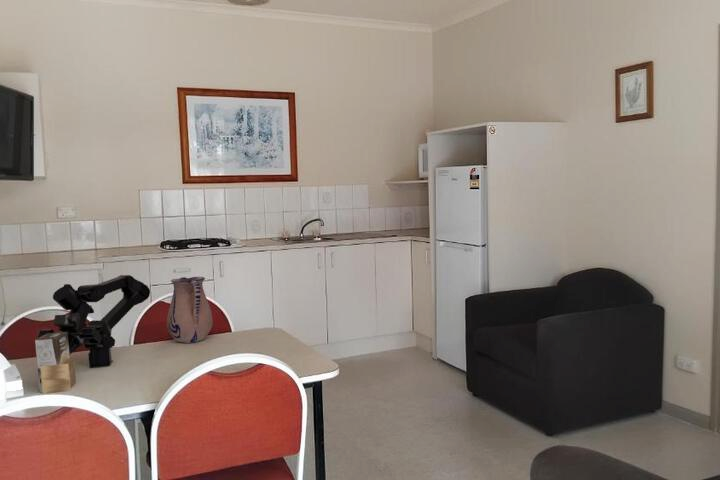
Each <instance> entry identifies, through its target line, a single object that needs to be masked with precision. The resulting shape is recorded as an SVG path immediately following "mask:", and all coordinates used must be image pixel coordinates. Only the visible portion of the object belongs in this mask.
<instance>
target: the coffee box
mask: <svg viewBox="0 0 720 480" xmlns="http://www.w3.org/2000/svg"><path fill="white" fill-rule="evenodd" d="M34 342H35V343H34V344H35V354H36V365H37V366H36V367H37V375H38V387H39V392H40V393H43V391H42V380H41V369H40V367H41V366H50V365H60V364H65V363H66V362H67V361H68V360H69V359H70V358H71V356H70V355H71V354H70V355H69V344H68V333H67V332H62V331H56V332H55V333H47V334H45V335H43V336H41V337H39V338H38V337H37V338H36V339H34Z"/></svg>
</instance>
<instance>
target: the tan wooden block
mask: <svg viewBox="0 0 720 480" xmlns="http://www.w3.org/2000/svg"><path fill="white" fill-rule="evenodd" d="M75 363H76V362H75V357H70V359H69V360H68V361H67V362H66V363H65V364H60V365H50V366H41V367H40V369H41V380H42V391H43V392H42V394H50V393H51V394H52V393H61V392H69V391H70V392H71V390H72V388H73V387H74V386H75V385H76V384H77V376H76V364H75Z"/></svg>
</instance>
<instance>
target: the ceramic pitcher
mask: <svg viewBox="0 0 720 480" xmlns="http://www.w3.org/2000/svg"><path fill="white" fill-rule="evenodd" d="M205 280H206V278H205V277H204V276H192V277H185V276H182V277H179V278H173V279H171V280H170V282H171V283H172V285H173V292H172V293H173V294H172V297H171V300H170V305H169V307H168V313H167V317H166V328H167V330H168V333H169V334H170V336H171V337H172V338H173V339H174V340H175V341H177V342H178V343H180V342H181V343H187V344H188V343H189V344H191V343H197V342H200V341H203V340H204V339H206V337H207V336H208V334H209V333H210V331H211V330H212V327H213V323H214V317H213V314H212V309H211V306H210V304H209V300H208V299H207V295H206V293H205V290H204V286H203V282H204V281H205Z"/></svg>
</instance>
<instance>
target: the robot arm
mask: <svg viewBox="0 0 720 480" xmlns="http://www.w3.org/2000/svg"><path fill="white" fill-rule="evenodd" d="M118 290H120V291H121V293H122V298H121V299H120V300H119V301H118V302H117V303H116V304H115V305H114V306H113V307H112V308H111V309H110V310H109V311H108V312H107V313H106V315H104V317H102V318H101V319H100V320H95V319H94V320H90V321H89V322H88V324H86V321H87V318H88V316H89V314H90V315H91V314H94V313H95V309H94V307H92V305H90V304H89V303H98V302H99V301H101V300H103V299H104V298H105V296H106V295H107V294H110V293H113V292H115V291H118ZM150 294H151V290H150V288H149V286H148V285H147V284H145V283H144V282H142V281H140V280H138V279H136V278H135V277H134V276H132V275H130V274H125V275H124V274H121V275H118V276H117V277H114V278H111V279H108V280H105V281H103V282H99V283H97V284H86V285H85V284H84V285H83V284H82V285H80V286H78V287H77V289H75V288H74V287H73V286H72V285H71V284H70V283H64V285H63V286H62V287H59V288H58V289H57V290H56V291H54V293H53V295H52V299H53V301H55V302H56V303H57V304H58V305H59V306H60V307H61V308H63V310H65V311H69V312H68V313H67V314H55V315H54V320H53V326H54V327H58V330H59V331H58V332H67V333H68V344H69V355H71V354H73V353H74V352H75V351H76V350H78V349H79V348H81V347H83V345H84V348H85V349H89V352H88V354H87V355H88V364H89V368H91V369H92V368H100V367H102V368H103V367H110V366H111V365H112V363H113V362H114V360H113V359H112V348H113V347H115V344H116V339H115V338H114V337H113V336H112V329H114V327H116V325H117V324H119V322H120V321H121V320H123V318H124V317H125V316H126V315H127V314H128V313H129V312H130V310H132V308H134V307H135V306H137V305H139V304H141V303H144V302H145V301H147V300H148V299H149V297H150V296H151V295H150ZM47 333H56V332H55V331H54V329H52V328H51V329H50V328H49V329H45V328H44V329H41V330H39V332H38V333H37V338H39V337H41V336H43V335H45V334H47Z"/></svg>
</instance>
